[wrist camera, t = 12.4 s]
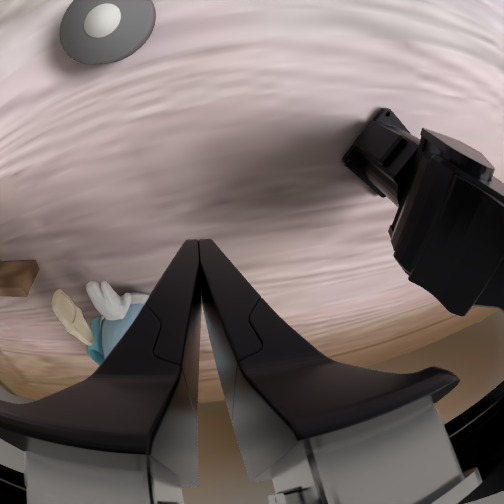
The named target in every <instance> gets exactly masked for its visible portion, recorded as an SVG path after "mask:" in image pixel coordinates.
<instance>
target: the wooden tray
mask: <svg viewBox="0 0 504 504" xmlns="http://www.w3.org/2000/svg"><path fill="white" fill-rule="evenodd" d="M38 270H39V267H38V265H37V263H36V260H25V261H4V262H0V296H12V297H27V294H28V292H29V290H30V288H31V285H32V283H33V281H34V279H35V277H36V275H37V272H38Z"/></svg>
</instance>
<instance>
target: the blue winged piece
mask: <svg viewBox="0 0 504 504" xmlns="http://www.w3.org/2000/svg"><path fill="white" fill-rule="evenodd" d="M86 291H87V293H88V295H89V297H90V299H91V301H92V303H93V305H94V307H95V308H96V309H97V310H98V312H99V313H100V314H102V316H99V317H94V319H93V320H92V322H91V327H89V326H88V324H87V322H86V321H85V319H84V318H83V314H82V311H81V309H80V308H79V307H77V306H76V305H75V304H74V303H73V302H72V300H71V299H70V298H69V297H68V295H67V294H65V293H64V292H63V291H62V290H61V289H58V290H57V291H56V292H55V293H54V295H53V298H52V309H53V311H54V313H55V315H56V317H57V318H58V319H59V320H60V322H61V323H62V324H63V325H64V327H65V328H66V331H67V332H68V333H69V334H71V335H73V336H75V337H76V338H77V339H79V340H80V341H81V342H83V343H84V344H86V345H87V353H88V354H89V356H90V357H91V358H92V359H93V360H94V361H95V362H96V363H98V364H99V365H101V364H102V362H103V361H104V360H105V359H106V357H107V356H108V355H109V353H110V352H111V351H112V349H113V348H114V347H115V346H116V344H117V343H118V342H119V340H120V339H121V338H122V336H123V335H124V334H125V332H126V331H127V330H128V328H129V327H130V326H131V324H132V323H133V321H134V320H135V318H136V317H137V315H138V314H139V312H140V310H141V309H142V307H143V305H145V302H146V301H147V299H148V297H149V295H146V294H143V293H138V292H134V293H125V294H124V295H122V296H119V295H118V294H117V293H116V292H115V291H114V290H113V289H112V287H111V286H110V285H109V284H108V282H106V281H105V280H104V281H102V283H101V286H100V285H99V284H98V283H97V282H95V281H89V282H88V283H87V284H86Z"/></svg>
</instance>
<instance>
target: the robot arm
mask: <svg viewBox="0 0 504 504" xmlns="http://www.w3.org/2000/svg"><path fill="white" fill-rule="evenodd" d="M386 112H388V114H387V115H385V114H386ZM420 135H421V140H420V139H418V138H417V137H415V136H413V135H411V134H410V132H409V131H408V130H407V129H406V127H405V126H404V125H403V124H402V123H401V121H400V120H399V119H398V118H397V117H396V115H395V114H394V113H393V112H392V111H391V110H390V109H388V108H383V109H382V110H381V111H380V112H379V114H378V115H377V116H376V117H375V119H374V120H373V121H371V122H370V124H369V125H368V126H367V127H366V129H365V130H364V131H363V132H362V134H361V135H360V136H359V137H358V138H357V140H356V141H355V143H354V144H353V146H352V147H351V148H350V149H349V151H348V152H347V153H346V154H345V155H344V157H343V158H342V162H343V164H344V165H345V166H347V167H348V168H349V169H350V170H351V171H353V172H354V173H355V174H356V175H357V176H358V177H360V178H361V179H362V180H363V181H364V182H365V183H366V184H367V185H369V186H370V187H371V188H372V189H373V190H374V191H375V192H376V193H377V194H379V195H380V196H381V197H382V198H384V197H386V196H387V197H388V198H389V199H390V200H391V201H392V202H393V203H394V204H395V205H396V206H397V207H398V211H397V213H396V216H395V219H394V221H393V224H392V225H390V228H389V230H388V232H389V235H390V237H391V243H392V246H393V249H394V251H395V252H394V258H395V260H396V261H397V262H398V263H399V265H400V266H401V267H402V268H403V270H404V271H405V273H407V274H408V275H409V277H408V279H409V281H411V282H413V283H415V284H417V285H419V286H421V287H423V288H424V289H425V290H427V291H428V292H430V293H431V294H432V295H433V296H434V297H436V298H437V299H438V300H439V301H440V302H441V304H442V305H443V306H444V307H445V308H446V309H447V310H448V311H449V312H451V313H453V314H456V315H459V316H465V315H466V314H467V313H468V311H469V310H470V309H471V307H472V306H480V307H490V308H498V309H500V310H501V311H502V312H504V183H502V182H501V181H500V180H498V179H497V178H495V177H494V176H493V173H494V170H495V168H494V167H493V166H492V165H491V163H490V162H489V161H488V160H487V159H486V158H485V157H484V155H483V154H482V153H480V152H479V151H477V150H475V149H473V148H472V147H470V146H468V145H466V144H464V143H463V142H461V141H458V140H456V139H453V138H451V137H448V136H445V135H442V134H439V133H437V132H434V131H431V130H428V129H425V128H422V131H421V134H420ZM348 159H350V161H349V162H347V160H348ZM201 296H202V299H201ZM202 305H203V310H204V315H205V319H206V324H207V328H208V332H209V337H210V341H211V345H212V349H213V353H214V357H215V361H216V365H217V369H218V373H219V377H220V381H221V385H222V389H223V392H224V396H225V400H226V403H227V407H228V410H229V414H230V417H231V421H232V424H233V428H234V431H235V434H236V438H237V441H238V444H239V448H240V451H241V454H242V457H243V460H244V463H245V466H246V469H247V472H248V475H249V478H250V481H251V482H255V481H262V480H268V479H272V480H273V484H274V488H275V492H276V494H275V495H270V496H268V499H269V504H464V503H468V502H471V501H475V500H478V499H481V498H484V497H487V496H490V495H493V494H496V493H498V492H501V491H504V381H503V382H502V383H500V384H499V385H498V386H497V387H496V388H495V389H493V390H492V391H491V392H490V393H488V394H487V395H486V396H485V397H484V398H482V399H481V400H480V401H478V402H477V403H476V404H474V405H473V406H472V407H470V408H469V409H468V410H466V411H465V412H463V413H462V414H460V415H459V416H457V417H456V418H454V419H453V420H451V421H450V422H448V423H446V424H444V423H443V421H442V418H441V416H440V414H439V412H438V409H437V407H436V405H435V403H436V402H438V401H439V400H440V399H441V398H443V397H444V396H445V395H446V394H448V393H449V392H450V391H451V390H452V389H454V388H455V387H456V386H457V385H458V383H459V381H460V379H459V378H458V377H457V376H456V375H455V374H454V373H452V372H450V371H448V370H445V369H442V368H438V367H434V366H433V367H428V368H425V369H423V370H421V371H418V372H415V373H408V374H397V373H389V372H383V371H378V370H373V369H369V368H364V367H359V366H354V365H349V364H345V363H341V362H337V361H334V360H332V359H330V358H328V357H327V356H325V355H324V354H322V353H321V352H320V351H318V350H317V349H316V348H315V347H314V346H312V345H311V344H310V343H309V342H308V341H307V340H305V339H304V338H303V337H302V336H301V335H300V334H298V333H297V332H296V331H295V330H294V329H293V328H291V327H290V326H289V325H288V324H287V323H286V322H285V321H284V320H283V319H282V318H280V317H279V316H278V315H277V314H276V312H275V311H274V310H273V309H272V308H271V307H270V306H269V305H268V304H267V303H266V302H265V300H264V299H263V298H261V296H260V295H259V294H258V293H257V291H256V290H255V289H254V288H253V287H252V286H251V285H250V283H249V282H248V281H247V280H246V279H245V278H244V277H243V275H242V274H241V273H240V272H239V271H238V270H237V268H236V267H235V266H234V265H233V264H232V263H231V262H230V260H229V259H228V258H227V257H226V256H225V255H224V253H223V252H222V251H221V250H220V249H219V248H218V246H217V245H216V244H215V243H214V242H213V240H212V239H200V240H199V242H198V240H197V239H192V240H186V241H185V242H184V243H183V245H182V246H181V248H180V249H179V251H178V252H177V254H176V255H175V257H174V258H173V260H172V261H171V263H170V264H169V266H168V268H167V269H166V271H165V272H164V274H163V275H162V277H161V278H160V280H159V282H158V283H157V285H156V286H155V288H154V289H153V291H152V293H151V294H150V296H149V297H148V299H147V301H146V302H145V305H143V307H142V309H141V310H140V312H139V314H138V315H137V317H136V318H135V320H134V321H133V323H132V324H131V326H130V327H129V328H128V330H127V331H126V332H125V334H124V335H123V336H122V338H121V339H120V340H119V342H118V343H117V344H116V346H115V347H114V348H113V349H112V351H111V352H110V353H109V355H108V356H107V357H106V359H105V360H104V361H103V362H102V364H101V365H100V366H99V368H98V369H97V370H96V371H95V372H94V373H93V374H92V375H91V376H90V377H88V378H87V379H85V380H84V381H82V382H79V383H77V384H75V385H72V386H70V387H68V388H66V389H63V390H61V391H59V392H56V393H54V394H52V395H49V396H47V397H44V398H42V399H40V400H37V401H34V402H31V403H25V404H13V403H10V402H6V401H2V400H0V438H1V439H3V440H4V441H6V442H8V443H10V444H11V445H13V446H15V447H17V448H19V449H21V450H23V451H25V455H24V473H21V472H18V471H16V470H13V469H10V468H8V467H5V466H3V465H1V464H0V504H184V502H183V495H182V488H190V487H198V425H197V424H198V377H199V349H200V328H201V310H202Z"/></svg>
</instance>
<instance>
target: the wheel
mask: <svg viewBox="0 0 504 504" xmlns="http://www.w3.org/2000/svg"><path fill="white" fill-rule="evenodd" d="M155 19H156V12H155V7H154V4H153V3H152V1H151V0H74V1H73V2H72V3H71V4H70V6H69V7H68V9H67V10H66V12H65V14H64V17H63V19H62V22H61V27H60V40H61V44H62V46H63V48H64V50H65V52H66V53H67V54H68V55H69V56H70V57H71V58H73V59H74V60H76V61H78V62H81V63H85V64H100V63H110V62H115V61H119V60H122V59H124V58H126V57H128V56H130V55H132V54H133V53H134V52H136V51H137V50H138V49H139V48H141V47H142V45H143V44H144V43H145V42H146V41H147V39H148V38H149V36H150V35H151V33H152V30H153V28H154V25H155Z"/></svg>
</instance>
